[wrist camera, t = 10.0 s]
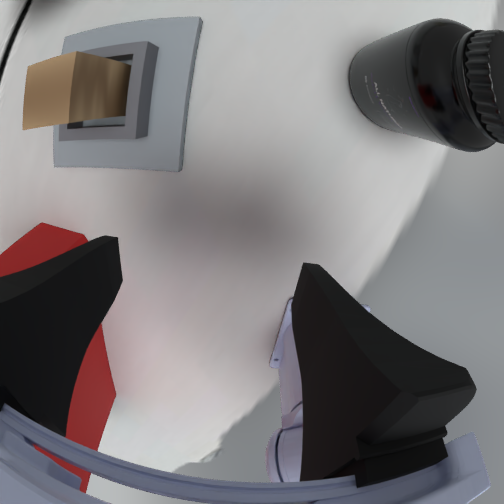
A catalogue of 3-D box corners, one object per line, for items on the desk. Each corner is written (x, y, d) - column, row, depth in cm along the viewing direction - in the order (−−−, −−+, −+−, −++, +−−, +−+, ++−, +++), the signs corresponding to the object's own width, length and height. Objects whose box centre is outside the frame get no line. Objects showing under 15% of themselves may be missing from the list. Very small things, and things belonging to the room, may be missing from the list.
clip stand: (181, 169, 18) (169, 179, 15) (60, 164, 17) (38, 173, 15) (202, 21, 13) (193, 6, 10) (71, 38, 12) (49, 33, 9)
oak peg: (131, 115, 15) (68, 123, 9) (89, 117, 15) (22, 130, 9) (136, 66, 13) (76, 51, 7) (94, 72, 13) (27, 66, 7)
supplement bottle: (334, 107, 16) (448, 110, 5) (359, 28, 12) (466, -32, 2) (413, 146, 16) (537, 201, 6) (435, 73, 13) (558, 78, 3)
